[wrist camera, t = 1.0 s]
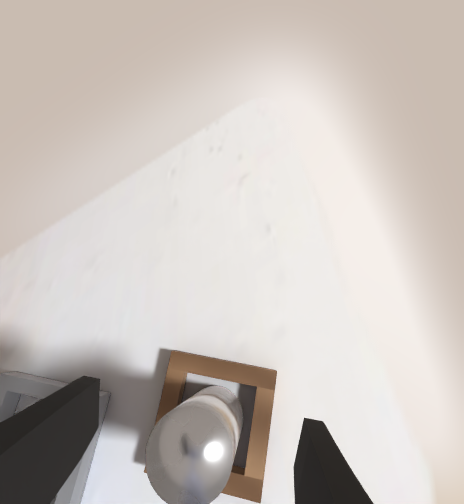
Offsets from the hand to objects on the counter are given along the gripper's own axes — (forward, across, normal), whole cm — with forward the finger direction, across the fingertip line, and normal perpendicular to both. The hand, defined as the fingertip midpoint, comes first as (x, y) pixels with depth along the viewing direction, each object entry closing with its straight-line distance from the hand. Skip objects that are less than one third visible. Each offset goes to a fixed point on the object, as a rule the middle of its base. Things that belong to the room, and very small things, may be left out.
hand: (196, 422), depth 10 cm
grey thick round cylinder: (+9, 0, +8) cm, 12 cm away
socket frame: (+9, 0, +8) cm, 12 cm away
